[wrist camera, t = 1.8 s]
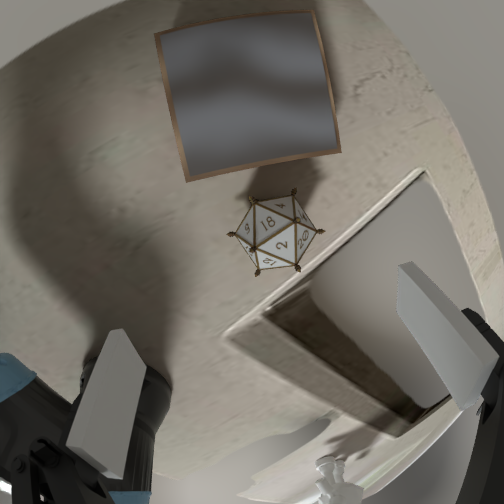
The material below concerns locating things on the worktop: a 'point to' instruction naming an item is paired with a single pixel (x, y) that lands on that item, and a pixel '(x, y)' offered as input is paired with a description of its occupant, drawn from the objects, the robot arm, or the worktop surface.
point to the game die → (275, 232)
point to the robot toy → (336, 483)
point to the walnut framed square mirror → (248, 92)
